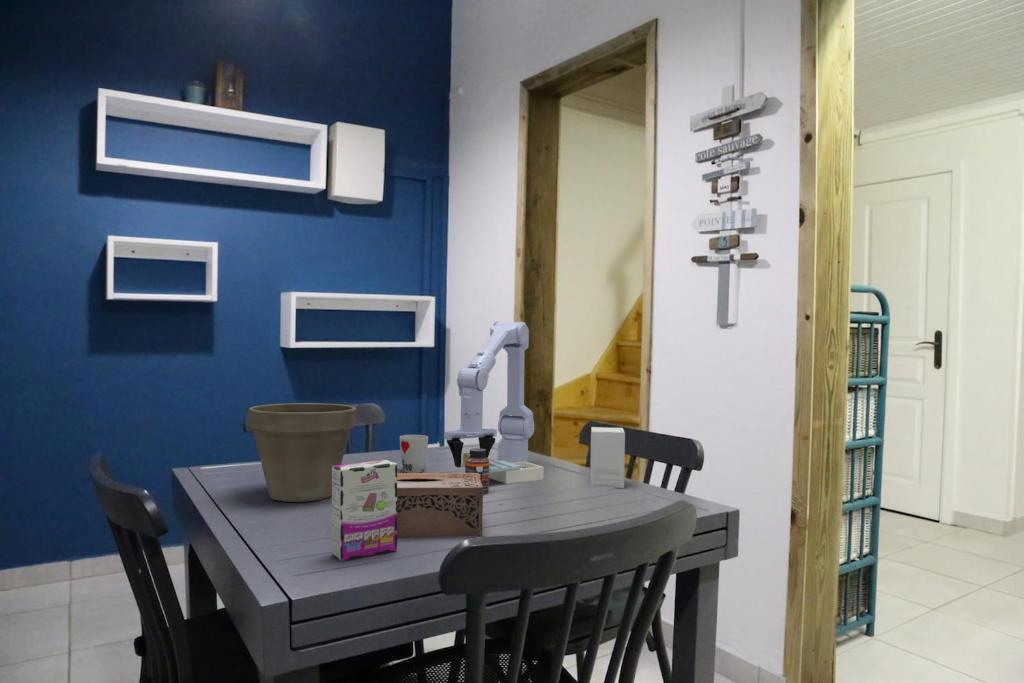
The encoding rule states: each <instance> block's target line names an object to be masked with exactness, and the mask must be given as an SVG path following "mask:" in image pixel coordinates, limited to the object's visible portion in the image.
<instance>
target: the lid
mask: <svg viewBox="0 0 1024 683" xmlns="http://www.w3.org/2000/svg"><path fill="white" fill-rule="evenodd" d="M469 453H470V452H466V453H464V452H462V463H461V468H463V469H465V466H466V459H467V458H468V457H470V454H469ZM517 469H521V466H519V465H516V464H513V463H510V462H506V461H503V460H498V459H497V460H494V459H491V460H489V472H498V471H507V470H517Z"/></svg>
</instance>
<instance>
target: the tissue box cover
mask: <svg viewBox="0 0 1024 683" xmlns="http://www.w3.org/2000/svg"><path fill="white" fill-rule="evenodd" d="M483 504H484V495H483V486H482V483H481V480H480V476H479V473H465V472H420V473H406V472H401V473H400V472H397V538H420V537H421V538H422V537H423V538H426V537H427V538H428V537H432V538H434V537H435V538H436V537H437V538H438V537H440V538H441V537H483V512H484V511H483V506H484V505H483Z"/></svg>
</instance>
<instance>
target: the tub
mask: <svg viewBox="0 0 1024 683" xmlns="http://www.w3.org/2000/svg"><path fill="white" fill-rule="evenodd" d="M513 464H516V465H519V466H521V467H526V468H525V469H517V470H507V471H498V472H489V479H491V480H494V481H497V482H500V483H503V484H505V485H508V484H517V483H519V484H520V483H527V482H534V481H535V482H536V481H543V480H544V477H545V476H544V475H545V474H544V472H545V471H544V470H545V467H544V466H541V465H538V464H534V463H532V462H529V461H528V462H526V461H525V462H515V463H513Z"/></svg>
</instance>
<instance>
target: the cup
mask: <svg viewBox="0 0 1024 683" xmlns="http://www.w3.org/2000/svg"><path fill="white" fill-rule="evenodd" d="M428 444H429V436H428V435H423V434H404V435H400V436H399V451H400V452H399V453H400V458H401V459H400V460H401V464H402V468H403V471H404V472H403V473H406V472H407V473H423V470H424V467H425V464H426V459H427V453H428Z"/></svg>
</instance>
